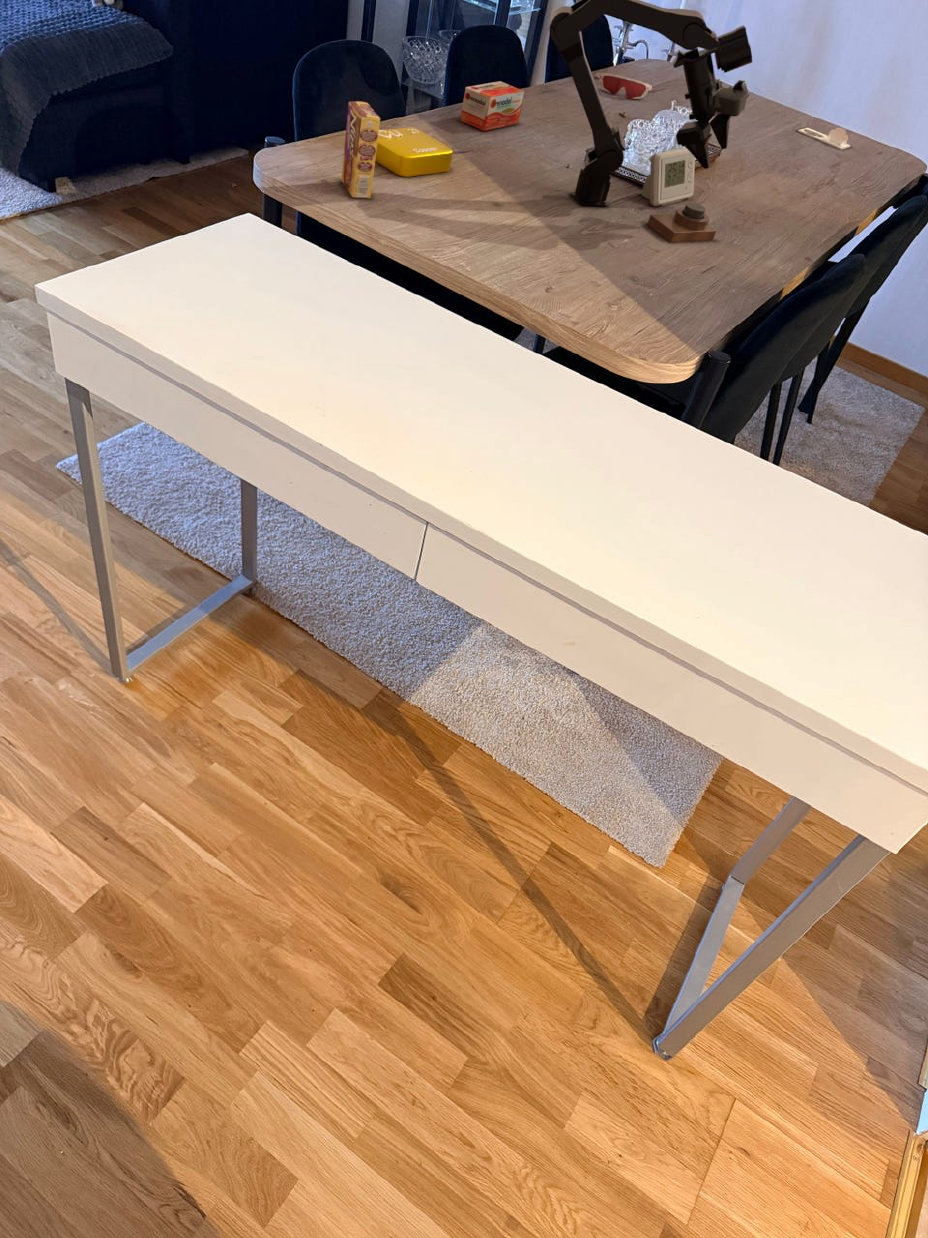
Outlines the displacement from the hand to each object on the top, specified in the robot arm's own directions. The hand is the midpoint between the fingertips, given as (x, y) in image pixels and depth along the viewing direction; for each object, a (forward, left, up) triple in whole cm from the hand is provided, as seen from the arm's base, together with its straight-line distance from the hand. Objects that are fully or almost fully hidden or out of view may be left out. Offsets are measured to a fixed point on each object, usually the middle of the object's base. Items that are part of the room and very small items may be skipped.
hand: (715, 158), depth 198 cm
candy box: (-76, +11, -15) cm, 78 cm away
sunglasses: (+30, +97, -15) cm, 102 cm away
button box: (-6, -4, -14) cm, 16 cm away
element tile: (-60, +28, -15) cm, 68 cm away
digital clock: (0, +14, -15) cm, 20 cm away
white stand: (+86, +67, -15) cm, 110 cm away
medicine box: (-29, +57, -15) cm, 66 cm away
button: (-4, -4, -11) cm, 12 cm away
